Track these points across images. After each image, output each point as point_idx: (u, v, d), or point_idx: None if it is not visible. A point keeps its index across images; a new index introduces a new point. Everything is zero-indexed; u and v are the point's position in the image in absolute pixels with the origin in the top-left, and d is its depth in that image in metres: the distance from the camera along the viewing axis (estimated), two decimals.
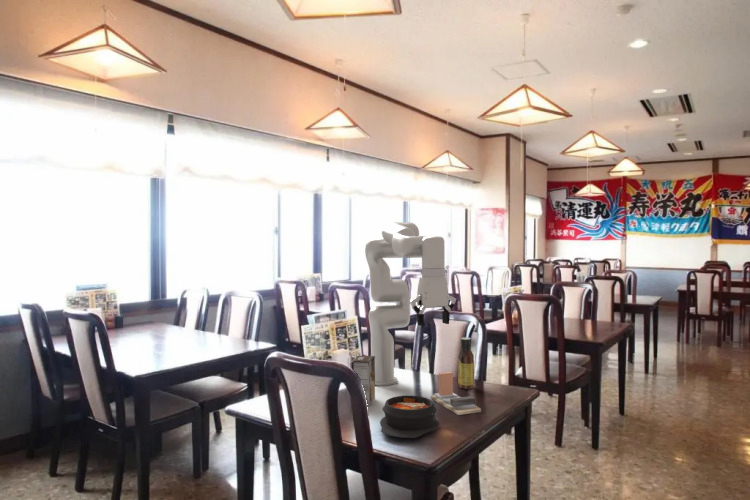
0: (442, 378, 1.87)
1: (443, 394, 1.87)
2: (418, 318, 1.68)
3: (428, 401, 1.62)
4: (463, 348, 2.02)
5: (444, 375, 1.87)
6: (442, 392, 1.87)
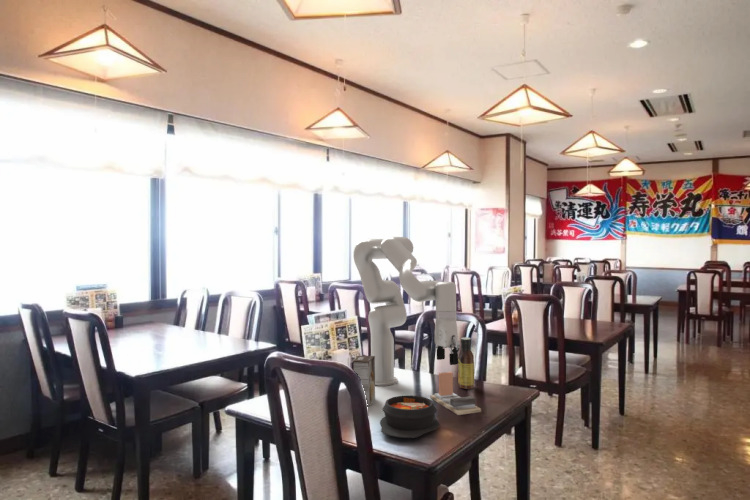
0: (442, 378, 1.87)
1: (443, 394, 1.87)
2: (455, 358, 1.82)
3: (428, 401, 1.62)
4: (463, 348, 2.02)
5: (444, 375, 1.87)
6: (442, 392, 1.87)
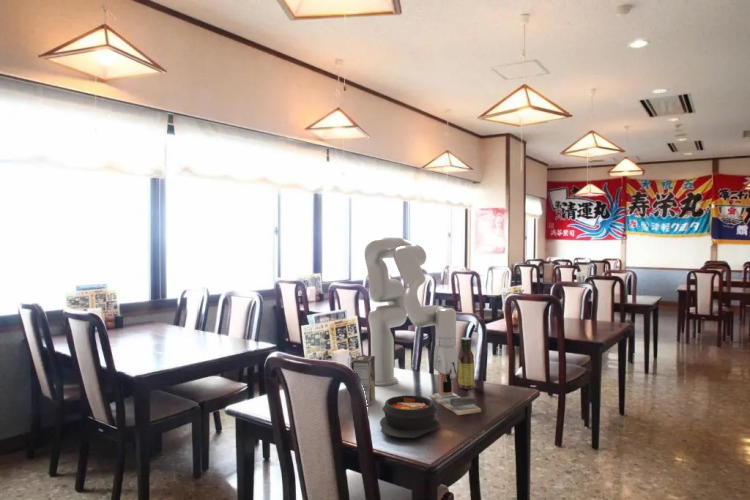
0: (442, 378, 1.87)
1: (443, 394, 1.87)
2: (449, 386, 1.87)
3: (428, 401, 1.62)
4: (463, 348, 2.02)
5: None
6: (442, 392, 1.87)
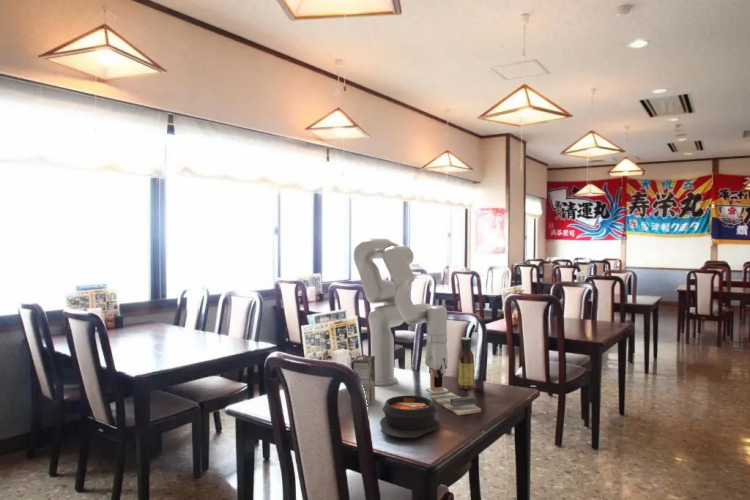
0: (433, 373, 1.94)
1: (434, 389, 1.94)
2: (440, 381, 1.93)
3: (428, 401, 1.62)
4: (463, 348, 2.02)
5: None
6: (433, 387, 1.94)
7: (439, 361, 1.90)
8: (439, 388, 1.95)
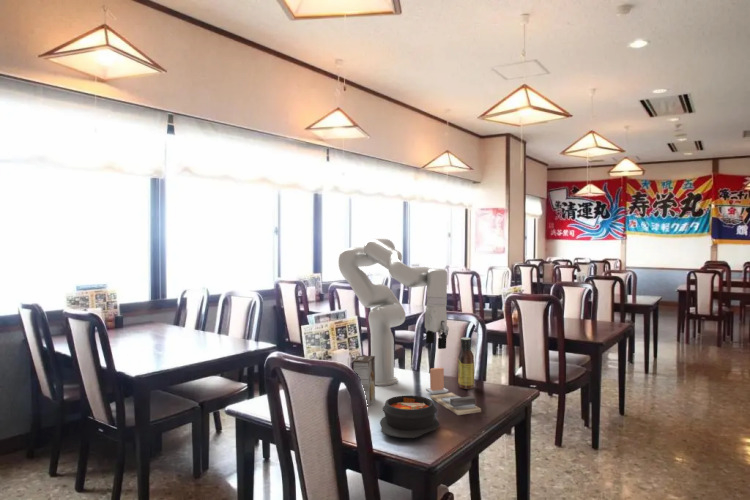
0: (433, 373, 1.94)
1: (434, 389, 1.94)
2: (443, 342, 1.90)
3: (428, 401, 1.62)
4: (463, 348, 2.02)
5: (435, 371, 1.94)
6: (433, 387, 1.94)
7: (438, 323, 1.90)
8: (439, 388, 1.95)
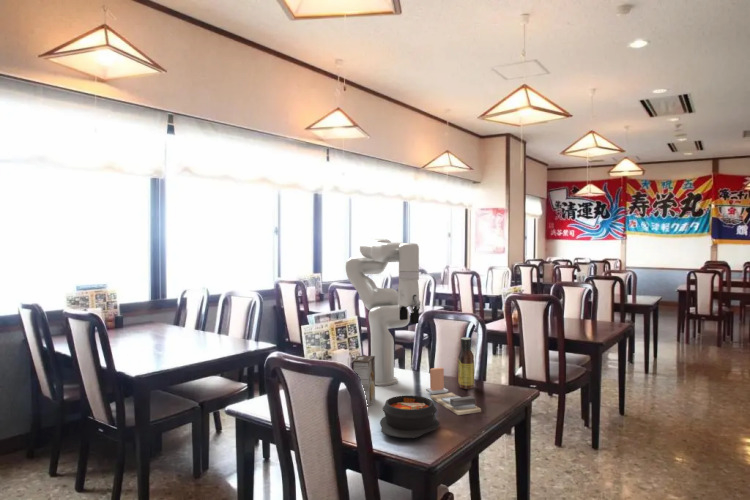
0: (433, 373, 1.94)
1: (434, 389, 1.94)
2: (416, 317, 1.87)
3: (428, 401, 1.62)
4: (463, 348, 2.02)
5: (435, 371, 1.94)
6: (433, 387, 1.94)
7: (410, 297, 1.87)
8: (439, 388, 1.95)
